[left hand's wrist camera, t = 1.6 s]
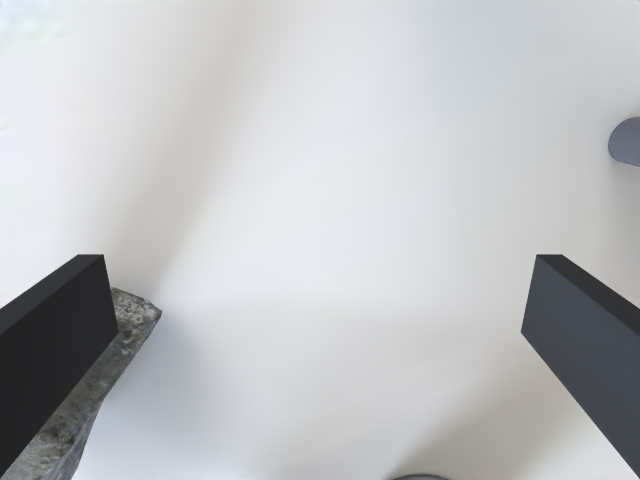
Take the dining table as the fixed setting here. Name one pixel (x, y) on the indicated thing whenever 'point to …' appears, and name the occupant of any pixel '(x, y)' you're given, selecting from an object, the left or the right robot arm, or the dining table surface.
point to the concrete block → (86, 397)
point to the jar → (626, 142)
